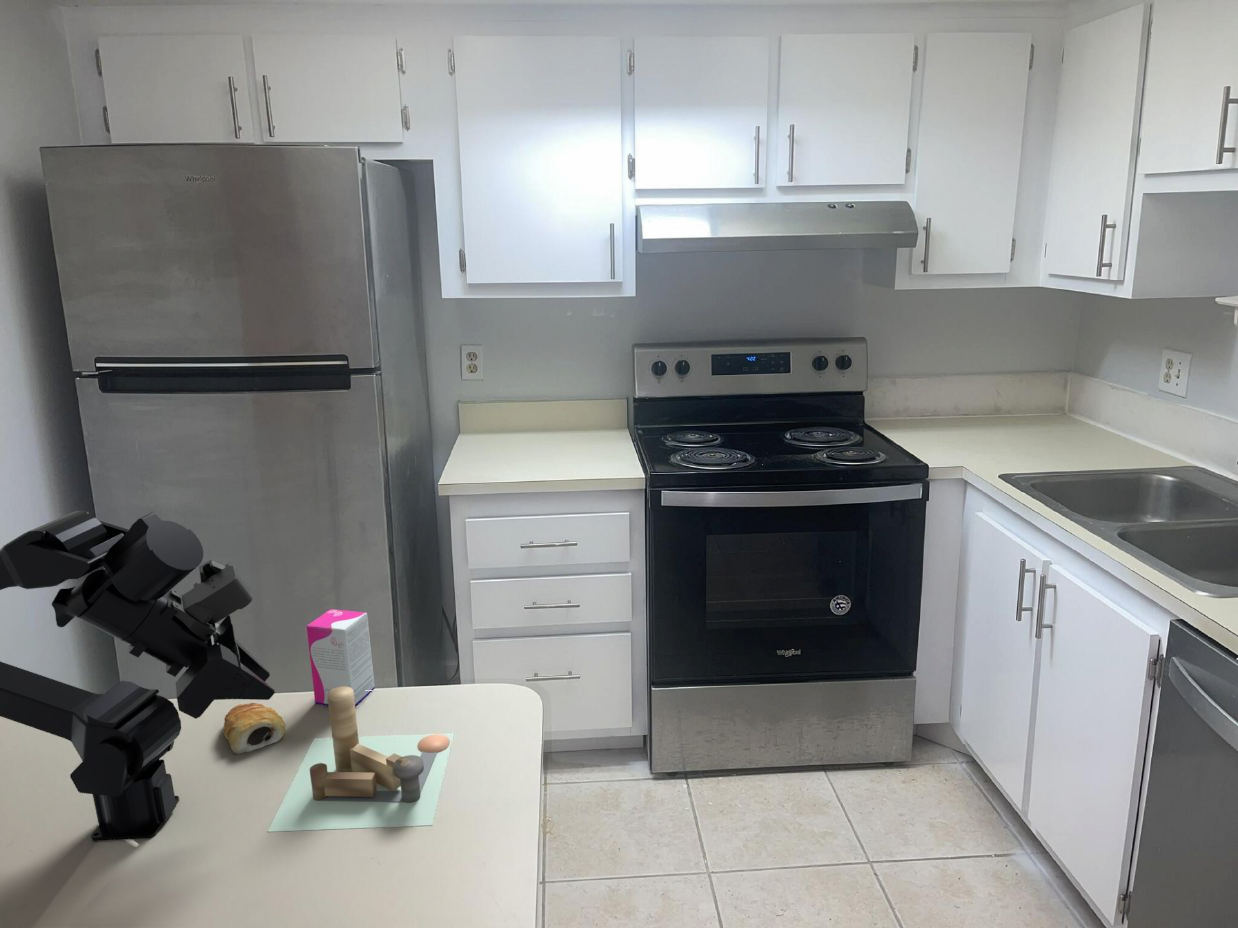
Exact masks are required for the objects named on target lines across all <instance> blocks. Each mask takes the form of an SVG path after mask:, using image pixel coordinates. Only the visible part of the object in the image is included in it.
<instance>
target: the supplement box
mask: <svg viewBox="0 0 1238 928" xmlns="http://www.w3.org/2000/svg"><path fill="white" fill-rule="evenodd" d="M368 618H369V617H368V612H362V611H352V610H343V609H342V610H341V609H332V608H330V609H328V610H327V611H326V612H324V613H323V614H322V615H320V616H319V617H317V618H316V619H314V620H313V621H312V622H310V623H309V624H307V625H306V633H307V634H306V635H307V641H308V642H307V643H308V651H309V660H310V661H309V662H310V668H311V669H310V670H311V678H312V685H313V694H314V697H313V698H314V703H315V705H316V706H317V705H319V706H323V707H324V706H325V707H329V705H328V696H327V694H328V692H329V691H330V690H332V689H334V688H337V687H343V686H346V687H350V688H352V689H353V692H354V702H355V708H356V707H357V706H358V705H359V704H360V703H362V701H364V699H366V698H367V697H368V696H369V695H371V693H372V692H373V691H374V690H375V689H376V686H375V678H374V677H375V675H374V669H373V659H372V658H373V657H372V649H371V640H370V629H369V628H370V627H369V619H368ZM365 690H373V691H365Z"/></svg>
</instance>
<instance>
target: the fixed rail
mask: <svg viewBox="0 0 1238 928" xmlns="http://www.w3.org/2000/svg"><path fill="white" fill-rule="evenodd" d="M310 777H311V785H312V793H313V799H314V800H316V801H318V800H323V799H325V798H327V797H328V796H351V797H374V794H375V792H376V790H377V788H376V778H375V773H361V772H328V771H327V765H326V764H324V763H318V764H315V765H313V766H311V767H310ZM400 783H401V794H402V800H403V801H405V802H406V803H413V802H416V801H417V800H419V799H420V797H421V794H420V783H419V776H417V777H415V778H412V779H400Z"/></svg>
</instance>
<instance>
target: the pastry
mask: <svg viewBox="0 0 1238 928" xmlns="http://www.w3.org/2000/svg"><path fill="white" fill-rule="evenodd" d="M285 733H286V723H285V721H284V719H283V716H281V715H279V713H278V712H277V711H276V710H275V709H273V708H272V707H268V706H265V705H263V704H261V703H257V702H249V703H244V704H238V705H236V706H233V707H232V708H231V709H230V710H229V711H228V712H227V713H226V715H225V716H224V723H223V732H222V734H223V737H224V738H225V739H227V741H228V743H229V747H230V748H231V751H232V752H233V754H243V753H247V752H252V751H253V750H257V749H260V748H263V747H265V746H268V745H269V746H270V745H271V744H276V743H277V742H279V741H280V740H281V739H282V738H283V737H284V736H285Z"/></svg>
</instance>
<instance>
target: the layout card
mask: <svg viewBox="0 0 1238 928" xmlns="http://www.w3.org/2000/svg"><path fill="white" fill-rule="evenodd" d="M454 735H455V732H451V733H449V732H448V733H428V734H427V733H425V734H424V733H423V734H399V735H398V734H396V735H393V734H392V735H372V736H369V735H368V736H365V735H364V736H358V739H359V744H360V745H363V746H365V747H367V748H369V749H372V750H374V751H376V752H379V753H381V754H383V755H385V756H388V757H389V756H391V755H392V754H394V753H395V754H397V755H399V756H402V757H404V756H408V755H416V756H419V757H421V758H422V759H423V763H424V770H423V772H422V773H421V774H420V775H419V783H420V794H421V797H420V799H419V800H417V801H416V802H413V803H406V802H405V801H403V800H402V794H401V786H400V787H399V788H397V789H396V790H395V791H393V790H391V789H389V788H387V787H384V786H382V785H380V784H378V783H376V788H377V790H376V792H375V794H374V797H351V796H328V797H327V798H325V799H323V800H318V801H316V800H314V799H313V793H312V785H311V777H310V767H311V766H313V765H315V764H318V763H324V764H326V765H327V771H328V772H337V770H336V765H335V756H334V748H333V739H332V737H316V738H315V737H314V738H313V740H312V743H311V744H310V747H309V748H308V750H307V753H306V754H305V756H304V758H303V761H302V763H301V764H300V766H299V768H298V770H297V772H296V774H295V776H294V778H293V780H292V783H291V784H290V786H289V788H288V789H287V792H286V793H285V797H284V798H283V800H282V802H281V804H280V806H279V809H278V810H277V812H276V815H275V816H274V817H273V820H272V822H271V825H270V826H269V828H268V829H267V833H274V832H276V833H278V832H282V833H283V832H301V831H303V832H304V831H326V830H354V829H355V830H356V829H374V828H375V829H377V828H398V827H399V828H401V827H402V828H403V827H404V828H405V827H406V828H407V827H429V826H434V820H435V816H436V811H437V808H438V803H439V799H440V795H441V791H442V786H443V783H444V779H445V778H444V777H445V775H446V770H447V767H448V766H447V765H448V761H449V757H450V754H451V750H452V745H453V740H454V737H455V736H454Z"/></svg>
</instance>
